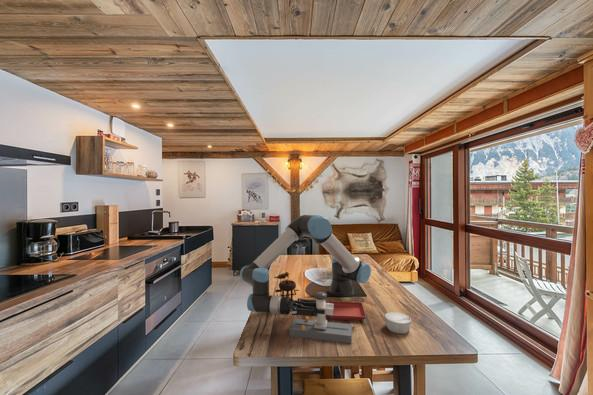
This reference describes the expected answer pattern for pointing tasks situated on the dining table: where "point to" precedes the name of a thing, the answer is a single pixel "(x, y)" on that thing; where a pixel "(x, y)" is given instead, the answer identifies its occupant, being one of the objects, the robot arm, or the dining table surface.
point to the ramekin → (398, 322)
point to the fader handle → (320, 318)
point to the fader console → (321, 331)
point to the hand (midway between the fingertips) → (333, 309)
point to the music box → (286, 286)
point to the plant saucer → (348, 311)
